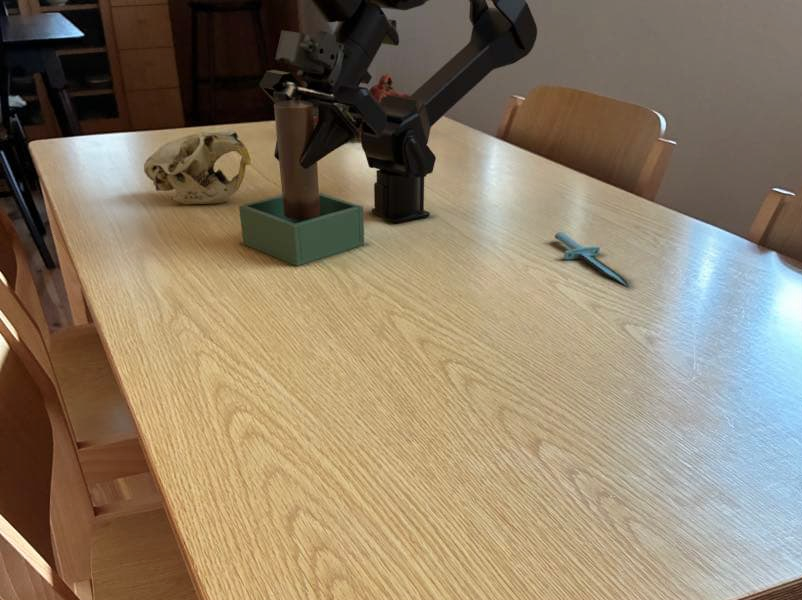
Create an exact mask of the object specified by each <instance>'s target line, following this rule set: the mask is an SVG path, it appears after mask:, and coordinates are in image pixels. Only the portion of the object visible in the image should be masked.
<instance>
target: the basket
mask: <svg viewBox="0 0 802 600" xmlns="http://www.w3.org/2000/svg"><path fill="white" fill-rule="evenodd" d="M319 197H320V212H321V213H320V215H319V216H317V217H315V218H311V219H304V220H297V219H290V218H287V217H285V215H284V208H283V197H282V194H280V195H277V196H276V195H275V196H273V197H269V198H264V199H261V200H256V201H252V202H249V203H244V204H240V205H238V210H239V211H238V212H239V218H240V220H239V221H240V227H241V236H242V243H243V245H245V246H248V247H249V248H252V249H254V250H257V251H259V252H262V253H264V254H267V255H269V256H271V257H274V258H276V259H279V260H281V261H283V262H286V263H288V264H291V265H293V266H295V267H299V266H301V265H305V264H308V263H311V262H314V261H317V260H321V259H324V258H328V257H331V256H334V255H337V254H340V253H343V252H347V251H349V250H352V249H356V248H358V247H363V246H364V245H365V224H364V220H365V219H364V206H362V205H360V204H357V203H353V202H350V201H347V200H344V199H341V198H338V197H334V196H332V195H330V194H329V195H328V194H325V193H323V192H319Z"/></svg>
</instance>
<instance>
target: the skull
mask: <svg viewBox="0 0 802 600" xmlns="http://www.w3.org/2000/svg"><path fill="white" fill-rule="evenodd" d="M231 152H236V153H238V154H239V155H240V156H241V158H240V161H239V168H238V173H237V174H236V175H235V176H233V177H232V179H231V180H230V179H228V177H227V176H226V175H225V174H224V172H223V171H222V170H221V168H218V170H216V171H215V163H216V162H217V161H218V160H219V159H220V158H221V157H222V156H223V155H225V154H230V153H231ZM246 166H251V157H250V153H249V152H248V149H247V147H246V145H245V144H244V142H242V140H240V138H239V135H238V133H237V132H236V130H232V129H222V130H221V129H220V130H212V131H210V130H209V131H200V132H197V133H192V134H188V135H185V136H182V137H180V138H176V139H174V140H172V141H169V142H167V143H165V144H164V145H162V146H160V147H159V148H158V149H157V150H156V151H154V153H152V154H151V155H150V156H149V157H148V158H147V159H146V160H145V163H144V164H143V172H144V174H145V176H146V177H147V178H148V179H149V180H151V181H152V182H153V183H152V185H154V187H155V190H156V191H157V192H158V191H163V192H171V191H173V190H175V192H176V196H175V197H174V196H171V197H170V199H171V200H173V201H174V202H177V203H179V204H182V205H192V204H193V205H195V204H196V205H211V204H212V205H213V204H223V203H226V202H227V201H228V200H229V199H230V198H232V196H233V195H234V194H235V193H237V192H238V191H239V189H240V187H241V185H242V183H243V180H244V178H245V174H246Z"/></svg>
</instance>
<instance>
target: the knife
mask: <svg viewBox="0 0 802 600" xmlns="http://www.w3.org/2000/svg"><path fill="white" fill-rule="evenodd" d="M554 238H555V239H556V240H558V241H559V242H561V243H562V244H564V245H565V246H566V247H567V248H569V249H568V250H566V251H564V255H563V259H564V260H578V259H582V260H584V262H586V263H587V264H589V265H590V266H591V267H593V268H594V269H595V270H596V271H598V272H599V273H601V274H602V275H603V276H605V277H607V278H609V279H611V280H613V281H615V282H617V283H619V284H621V285H623V286H625V287H627V288H629V284H628V282H627V280H626V279H625V278H624V277H623V276H621V275H620V274H619V273H617V272H616V271H615V270H613V269H612V268H610V267H609V266H607V265H606V264H605V263H604V262H602V261H601V260H600V259H598V258H597V257H596V256H598V255H600V249H601V248H600V247H599V246H586V247H584V246H582V245H581V244H580V243H578V242H577V241H575V240H574V239H572V238H571V237H570V236H568V234H567V233H566V232H564V231H559V232H556V233H555V234H554Z"/></svg>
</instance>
